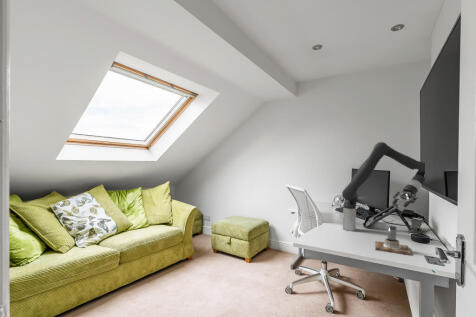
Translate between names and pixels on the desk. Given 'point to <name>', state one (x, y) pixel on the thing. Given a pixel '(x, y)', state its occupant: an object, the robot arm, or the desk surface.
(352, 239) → the desk surface
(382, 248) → the cup bracket
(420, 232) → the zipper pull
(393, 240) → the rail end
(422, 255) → the desk surface
